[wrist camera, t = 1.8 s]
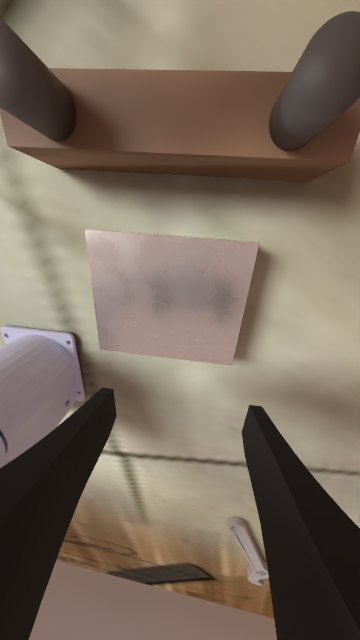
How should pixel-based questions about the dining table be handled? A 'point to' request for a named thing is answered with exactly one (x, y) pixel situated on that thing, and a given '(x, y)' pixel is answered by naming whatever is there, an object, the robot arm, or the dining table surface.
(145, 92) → the stop rail
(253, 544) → the adjustable wrench
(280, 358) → the dining table surface
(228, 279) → the plate
